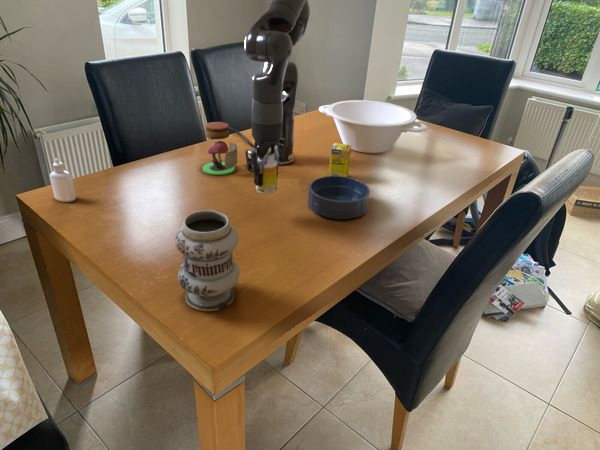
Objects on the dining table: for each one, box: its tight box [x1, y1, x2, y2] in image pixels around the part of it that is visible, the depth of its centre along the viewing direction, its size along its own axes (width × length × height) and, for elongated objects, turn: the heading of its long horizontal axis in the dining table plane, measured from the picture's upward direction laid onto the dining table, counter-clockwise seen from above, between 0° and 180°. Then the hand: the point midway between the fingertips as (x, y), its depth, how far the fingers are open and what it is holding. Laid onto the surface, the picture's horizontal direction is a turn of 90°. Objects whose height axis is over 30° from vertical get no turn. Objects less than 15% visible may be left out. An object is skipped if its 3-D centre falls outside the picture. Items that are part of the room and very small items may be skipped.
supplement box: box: [328, 142, 352, 177], centre depth 145 cm, size 6×6×11 cm
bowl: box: [307, 175, 371, 220], centre depth 129 cm, size 17×17×6 cm
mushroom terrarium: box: [202, 121, 238, 176], centre depth 145 cm, size 12×13×15 cm
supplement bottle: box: [254, 153, 278, 195], centre depth 116 cm, size 6×6×10 cm
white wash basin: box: [318, 99, 428, 154], centre depth 173 cm, size 44×34×14 cm
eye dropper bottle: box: [49, 158, 77, 203], centre depth 123 cm, size 4×6×12 cm
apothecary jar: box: [174, 209, 241, 312], centre depth 88 cm, size 12×12×18 cm
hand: (266, 181), depth 117 cm, fingers closed on supplement bottle, 5 cm apart
